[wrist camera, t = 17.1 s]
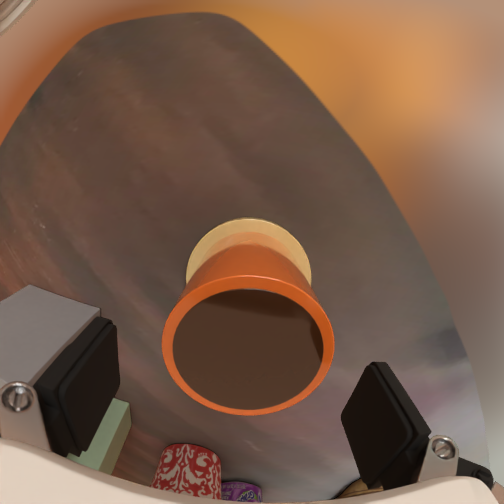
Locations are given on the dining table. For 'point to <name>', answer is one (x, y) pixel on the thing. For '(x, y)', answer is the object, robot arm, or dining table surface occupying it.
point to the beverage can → (240, 492)
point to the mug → (189, 471)
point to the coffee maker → (47, 350)
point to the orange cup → (248, 329)
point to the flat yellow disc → (248, 226)
